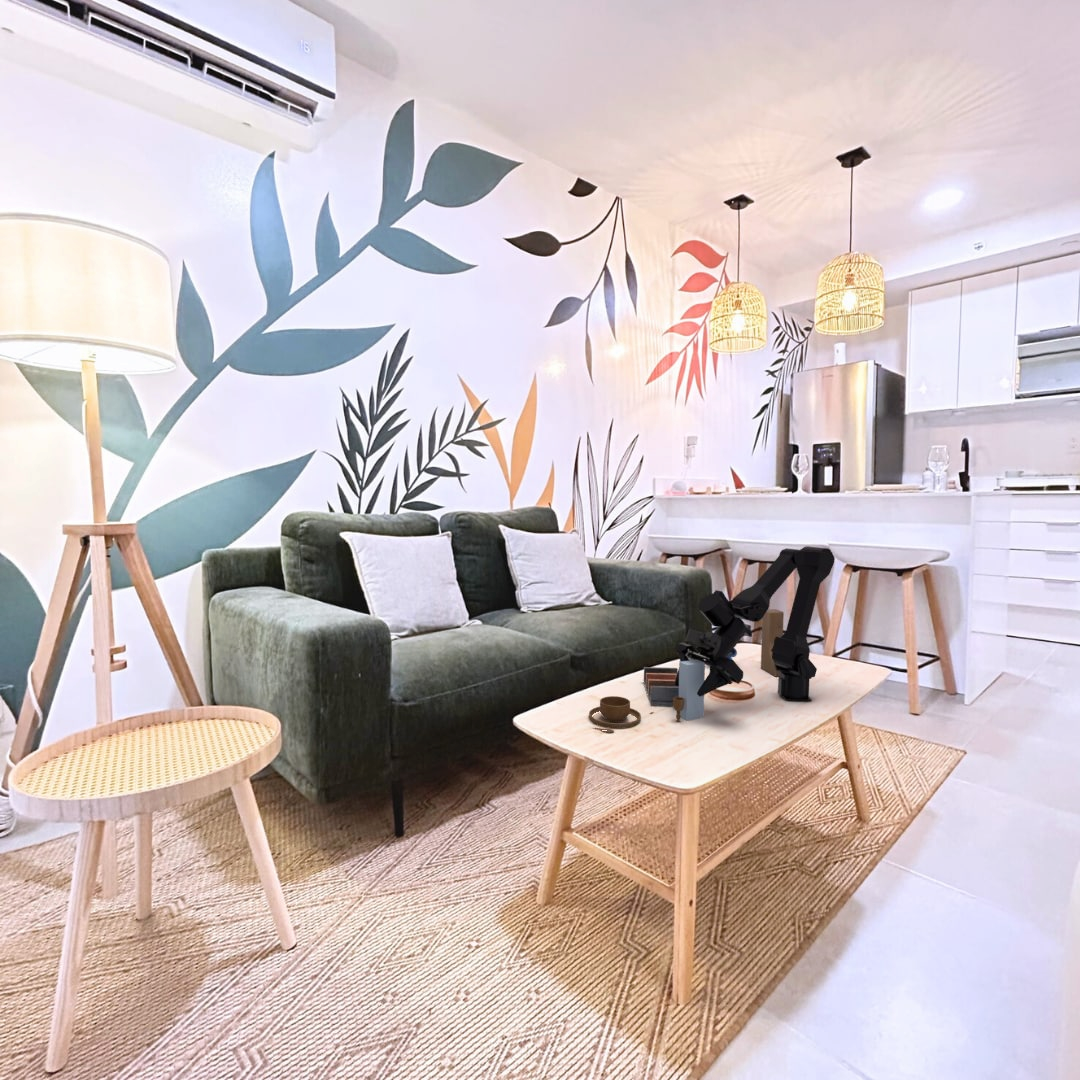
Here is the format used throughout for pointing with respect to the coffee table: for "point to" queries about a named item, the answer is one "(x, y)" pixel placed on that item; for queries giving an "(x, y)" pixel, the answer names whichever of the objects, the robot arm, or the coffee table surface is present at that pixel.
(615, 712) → the place setting
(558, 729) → the coffee table surface
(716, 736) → the coffee table surface
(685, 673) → the blue-gray rectangular block
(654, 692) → the rack
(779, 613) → the wooden block
